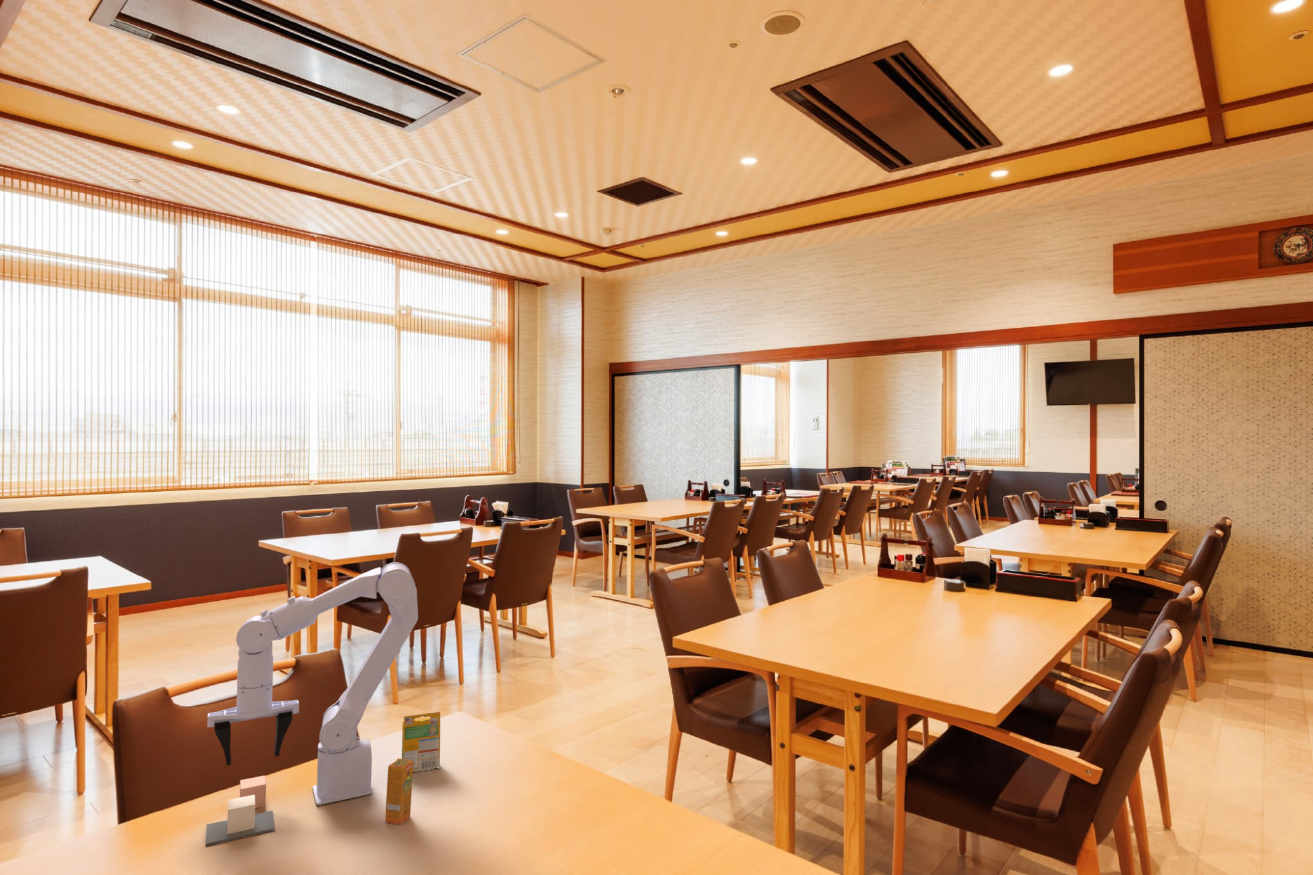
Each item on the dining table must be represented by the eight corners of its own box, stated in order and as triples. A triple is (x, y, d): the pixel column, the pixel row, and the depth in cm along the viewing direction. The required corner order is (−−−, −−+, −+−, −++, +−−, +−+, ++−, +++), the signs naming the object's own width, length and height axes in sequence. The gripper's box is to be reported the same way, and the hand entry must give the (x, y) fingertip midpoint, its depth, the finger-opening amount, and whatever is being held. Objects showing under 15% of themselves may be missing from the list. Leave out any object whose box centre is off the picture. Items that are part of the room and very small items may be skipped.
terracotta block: (264, 796, 134) (264, 775, 134) (265, 806, 131) (266, 784, 131) (239, 802, 132) (240, 780, 132) (240, 811, 128) (240, 789, 129)
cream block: (254, 828, 122) (255, 804, 122) (227, 834, 120) (227, 809, 120) (254, 817, 125) (254, 794, 125) (227, 823, 123) (228, 799, 123)
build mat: (272, 812, 128) (272, 810, 128) (274, 830, 122) (274, 828, 122) (206, 826, 123) (206, 824, 123) (205, 846, 117) (205, 843, 117)
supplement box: (402, 825, 124) (403, 767, 124) (384, 823, 125) (385, 765, 125) (412, 816, 127) (413, 759, 128) (395, 814, 128) (396, 757, 128)
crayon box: (438, 763, 149) (439, 707, 150) (439, 769, 147) (441, 711, 147) (401, 768, 146) (402, 711, 147) (402, 774, 144) (403, 716, 144)
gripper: (297, 672, 138) (295, 743, 138) (208, 683, 131) (206, 758, 130) (300, 682, 132) (298, 756, 132) (208, 695, 125) (205, 773, 124)
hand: (253, 758), depth 131 cm, fingers open, 7 cm apart
